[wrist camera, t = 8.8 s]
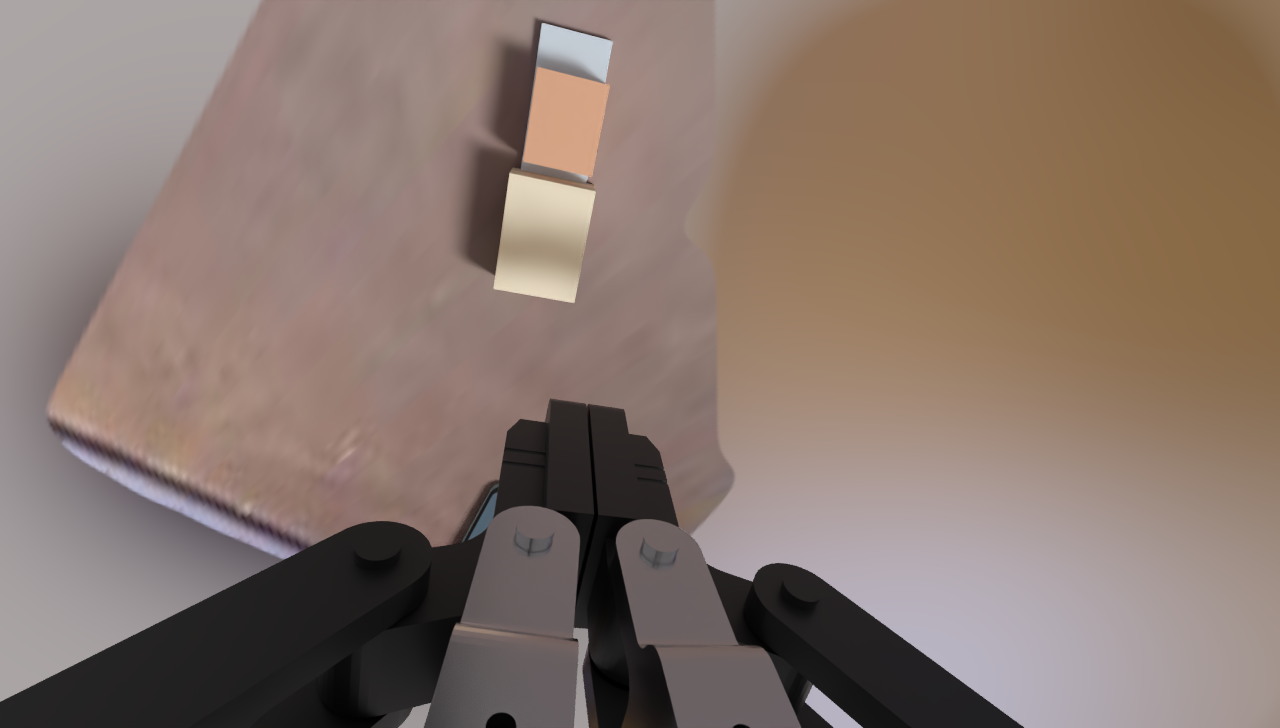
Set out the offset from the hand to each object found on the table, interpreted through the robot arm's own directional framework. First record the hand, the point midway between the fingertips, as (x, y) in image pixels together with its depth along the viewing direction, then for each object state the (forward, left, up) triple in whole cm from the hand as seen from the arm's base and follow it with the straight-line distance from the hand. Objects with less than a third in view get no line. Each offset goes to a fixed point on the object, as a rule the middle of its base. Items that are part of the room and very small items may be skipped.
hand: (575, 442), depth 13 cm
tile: (-4, -1, -29) cm, 29 cm away
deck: (+2, -1, -29) cm, 29 cm away
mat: (-5, -1, -29) cm, 29 cm away
